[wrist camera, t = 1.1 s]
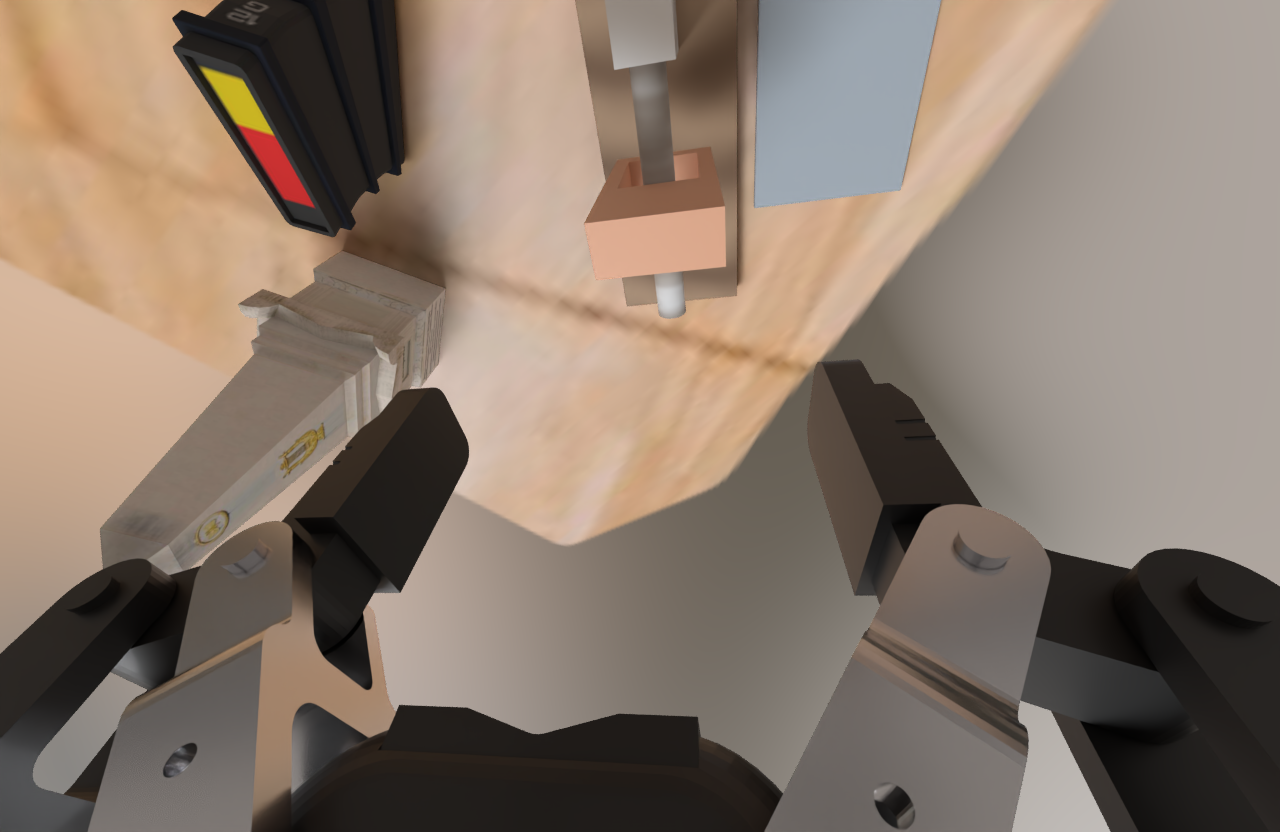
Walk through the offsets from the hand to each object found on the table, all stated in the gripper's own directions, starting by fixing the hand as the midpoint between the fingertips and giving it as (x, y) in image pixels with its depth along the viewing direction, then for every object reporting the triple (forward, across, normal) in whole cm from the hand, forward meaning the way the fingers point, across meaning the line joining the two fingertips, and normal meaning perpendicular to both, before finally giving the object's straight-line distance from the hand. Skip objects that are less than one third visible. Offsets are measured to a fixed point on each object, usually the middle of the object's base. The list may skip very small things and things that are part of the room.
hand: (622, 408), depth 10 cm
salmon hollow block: (+23, 0, 0) cm, 23 cm away
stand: (+32, 0, +1) cm, 32 cm away
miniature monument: (+32, +29, +11) cm, 45 cm away
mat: (+32, -12, -3) cm, 34 cm away
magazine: (+32, +21, -6) cm, 39 cm away
